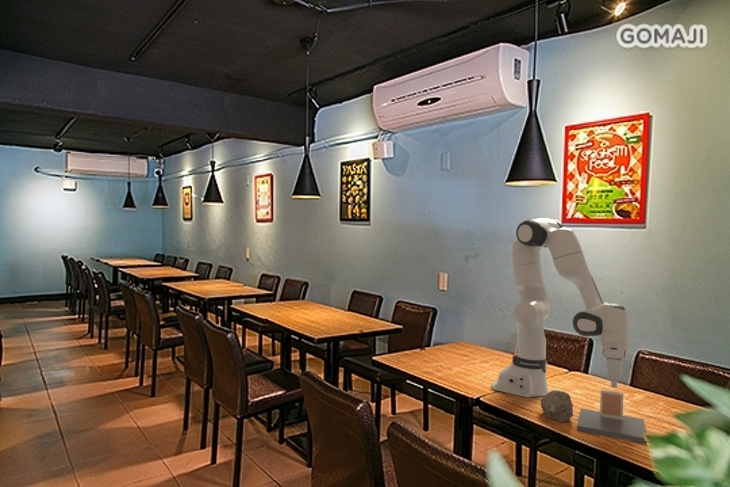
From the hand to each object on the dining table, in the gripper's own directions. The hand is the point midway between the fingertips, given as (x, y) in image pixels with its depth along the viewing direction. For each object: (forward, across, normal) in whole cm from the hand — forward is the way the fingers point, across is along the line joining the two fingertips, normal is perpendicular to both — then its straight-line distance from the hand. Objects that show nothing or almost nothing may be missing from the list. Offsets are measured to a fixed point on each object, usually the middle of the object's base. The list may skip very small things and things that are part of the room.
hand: (614, 386), depth 172 cm
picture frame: (+9, +6, -1) cm, 11 cm away
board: (+11, +11, -1) cm, 15 cm away
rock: (+10, +12, -18) cm, 24 cm away
